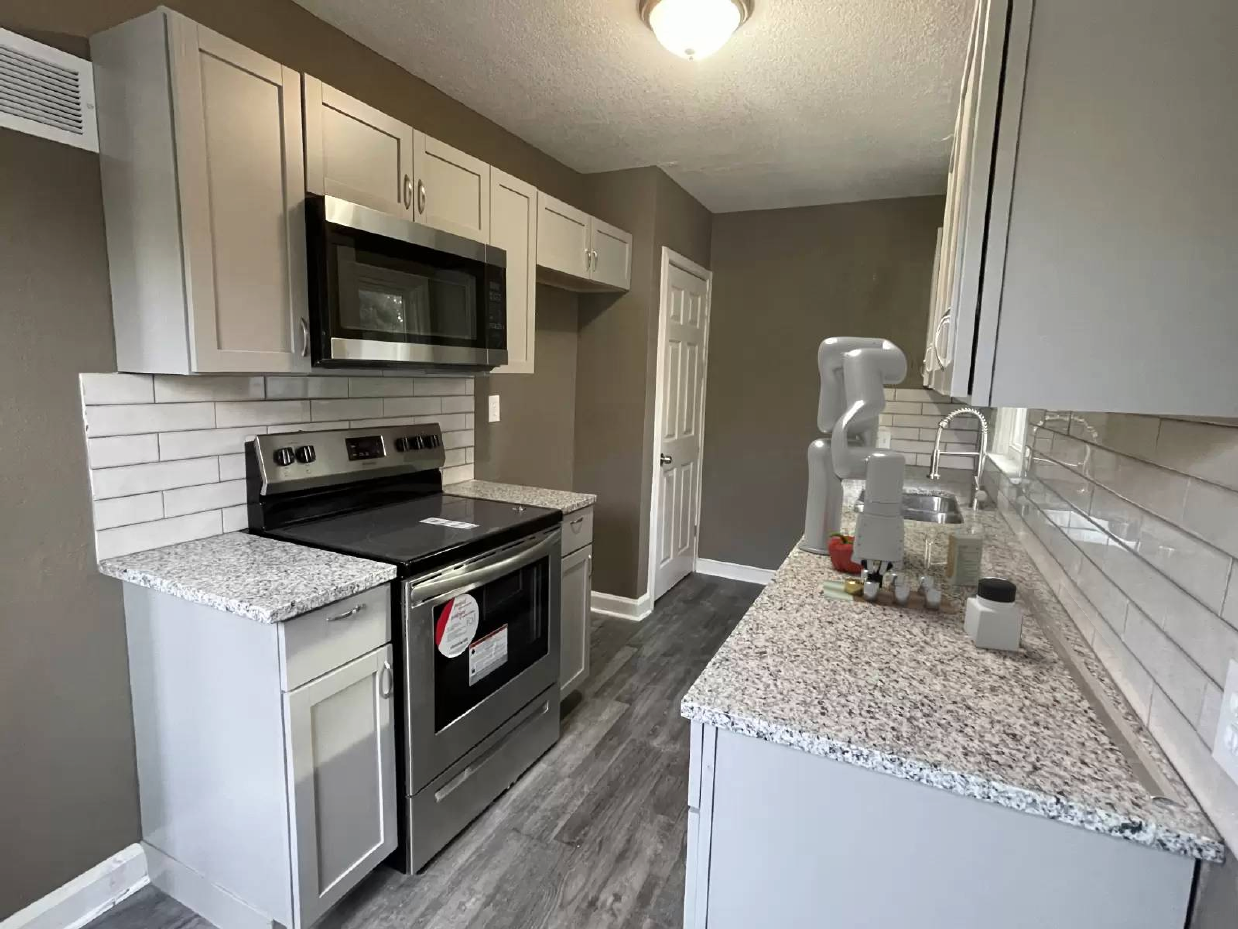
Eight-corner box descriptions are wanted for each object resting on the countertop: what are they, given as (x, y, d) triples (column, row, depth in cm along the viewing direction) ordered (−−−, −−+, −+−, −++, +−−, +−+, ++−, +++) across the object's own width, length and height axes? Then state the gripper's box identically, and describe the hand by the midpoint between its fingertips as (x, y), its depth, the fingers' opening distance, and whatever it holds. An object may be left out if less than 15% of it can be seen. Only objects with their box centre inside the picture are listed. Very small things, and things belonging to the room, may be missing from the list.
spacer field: (859, 584, 145) (861, 567, 144) (930, 593, 140) (932, 576, 140) (863, 601, 133) (864, 583, 133) (940, 611, 129) (942, 593, 128)
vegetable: (834, 578, 152) (838, 538, 150) (816, 565, 162) (819, 527, 160) (877, 578, 153) (880, 538, 152) (855, 565, 163) (859, 528, 162)
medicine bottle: (1019, 652, 112) (1027, 588, 110) (975, 647, 113) (983, 584, 112) (1003, 637, 119) (1011, 576, 117) (962, 632, 120) (969, 572, 119)
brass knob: (842, 588, 142) (843, 577, 141) (863, 590, 141) (864, 579, 140) (845, 594, 137) (846, 583, 137) (867, 597, 136) (868, 585, 136)
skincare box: (970, 583, 151) (976, 534, 150) (979, 589, 147) (985, 539, 146) (943, 581, 152) (948, 532, 150) (950, 587, 148) (956, 537, 146)
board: (823, 582, 148) (823, 579, 148) (944, 598, 140) (945, 594, 140) (823, 600, 135) (823, 596, 135) (956, 618, 128) (957, 614, 128)
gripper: (916, 509, 137) (908, 589, 139) (844, 502, 141) (837, 581, 144) (922, 515, 130) (913, 600, 132) (846, 508, 134) (838, 591, 137)
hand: (873, 590), depth 138 cm, fingers closed
